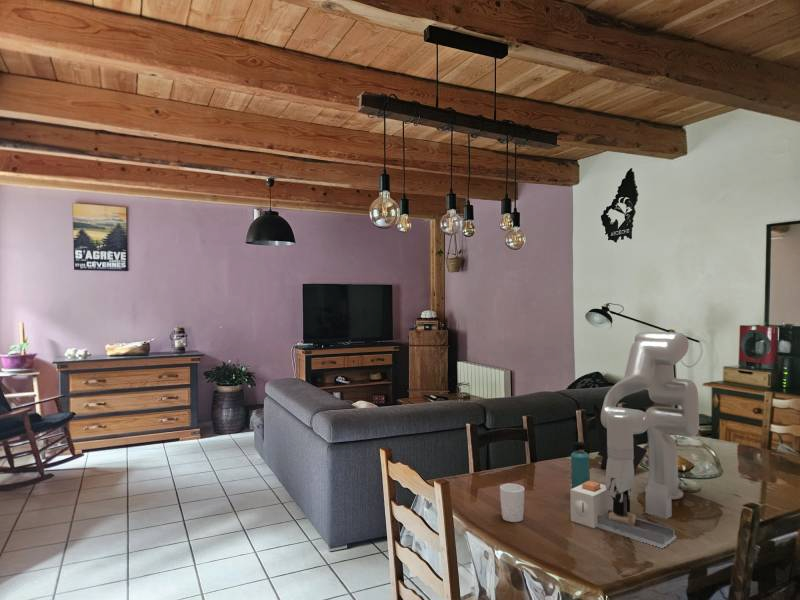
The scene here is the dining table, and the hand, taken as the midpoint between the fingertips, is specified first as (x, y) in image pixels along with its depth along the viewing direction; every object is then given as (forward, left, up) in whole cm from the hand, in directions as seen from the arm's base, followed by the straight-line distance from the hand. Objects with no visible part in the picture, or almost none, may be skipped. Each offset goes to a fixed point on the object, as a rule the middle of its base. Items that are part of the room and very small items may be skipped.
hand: (621, 511), depth 160 cm
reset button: (0, -10, +2) cm, 10 cm away
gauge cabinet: (0, -10, -5) cm, 11 cm away
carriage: (0, 0, -4) cm, 4 cm away
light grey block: (-19, +3, -6) cm, 20 cm away
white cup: (+18, -28, -5) cm, 34 cm away
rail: (0, +4, -5) cm, 7 cm away
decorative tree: (-51, -28, -6) cm, 58 cm away
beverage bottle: (-14, -22, -5) cm, 27 cm away
